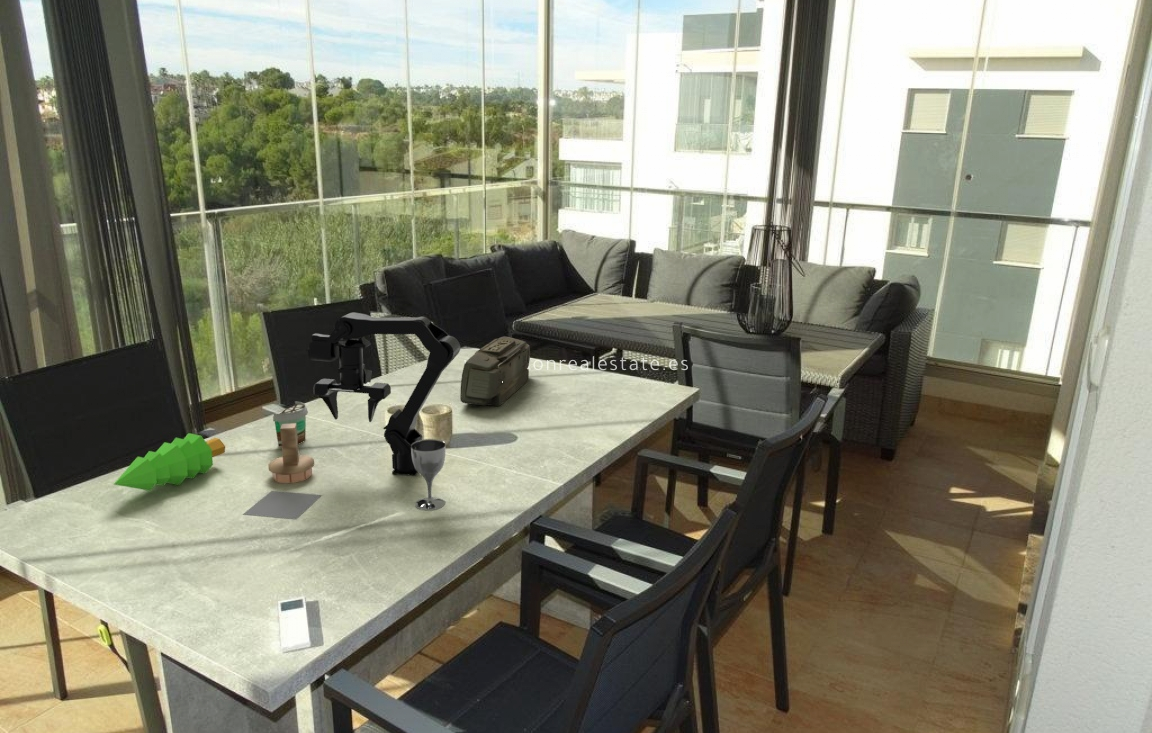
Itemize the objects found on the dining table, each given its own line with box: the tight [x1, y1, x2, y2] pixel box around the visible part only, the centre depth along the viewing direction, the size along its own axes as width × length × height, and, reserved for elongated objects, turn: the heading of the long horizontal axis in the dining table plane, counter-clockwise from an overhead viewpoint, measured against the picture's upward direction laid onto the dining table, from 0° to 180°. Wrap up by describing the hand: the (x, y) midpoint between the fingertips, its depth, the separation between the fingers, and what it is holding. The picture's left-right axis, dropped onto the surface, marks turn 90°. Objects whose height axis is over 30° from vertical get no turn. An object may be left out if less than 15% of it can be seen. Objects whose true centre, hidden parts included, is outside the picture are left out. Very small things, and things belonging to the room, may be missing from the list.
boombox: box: [460, 336, 531, 407], centre depth 273 cm, size 44×17×20 cm, turn 165°
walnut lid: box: [267, 423, 315, 475], centre depth 200 cm, size 11×11×11 cm
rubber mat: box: [242, 490, 323, 520], centre depth 186 cm, size 13×13×1 cm
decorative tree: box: [113, 433, 226, 491], centre depth 195 cm, size 11×12×30 cm
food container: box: [272, 401, 309, 447], centre depth 225 cm, size 12×6×10 cm, turn 168°
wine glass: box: [411, 438, 447, 511], centre depth 187 cm, size 8×8×15 cm
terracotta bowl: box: [271, 467, 313, 484], centre depth 202 cm, size 9×9×3 cm
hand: (353, 420), depth 206 cm, fingers open, 9 cm apart
